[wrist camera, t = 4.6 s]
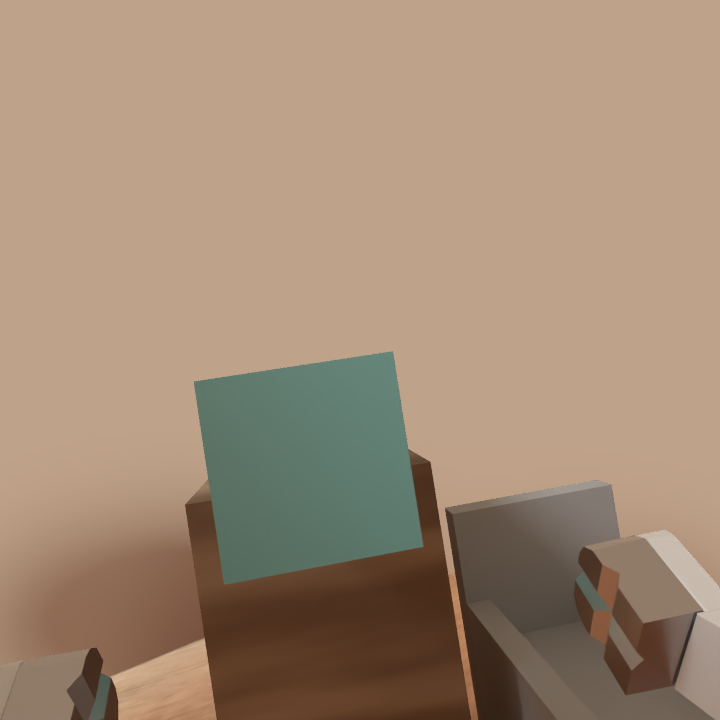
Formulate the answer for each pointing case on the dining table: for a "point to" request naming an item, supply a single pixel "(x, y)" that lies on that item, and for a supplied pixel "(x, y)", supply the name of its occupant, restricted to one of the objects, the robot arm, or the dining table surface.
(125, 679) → the dining table surface
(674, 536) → the robot arm
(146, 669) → the dining table surface
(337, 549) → the teal square bar
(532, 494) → the grey boxy piece
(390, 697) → the stand
